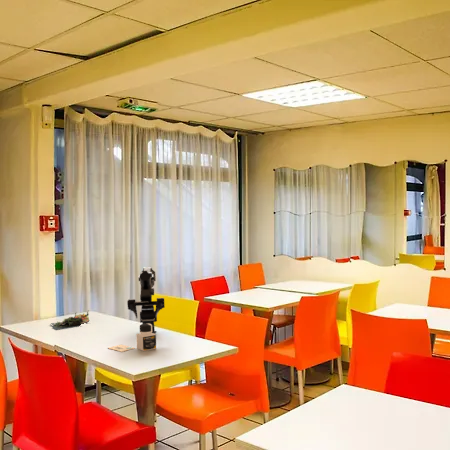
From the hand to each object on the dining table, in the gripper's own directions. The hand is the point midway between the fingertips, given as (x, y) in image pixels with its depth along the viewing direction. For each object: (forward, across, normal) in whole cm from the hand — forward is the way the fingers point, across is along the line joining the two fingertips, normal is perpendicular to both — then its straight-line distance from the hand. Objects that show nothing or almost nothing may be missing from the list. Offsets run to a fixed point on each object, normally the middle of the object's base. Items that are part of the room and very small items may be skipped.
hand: (146, 317), depth 261 cm
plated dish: (-32, -46, +53) cm, 77 cm away
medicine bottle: (+16, 0, +4) cm, 16 cm away
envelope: (+14, -12, +5) cm, 19 cm away
